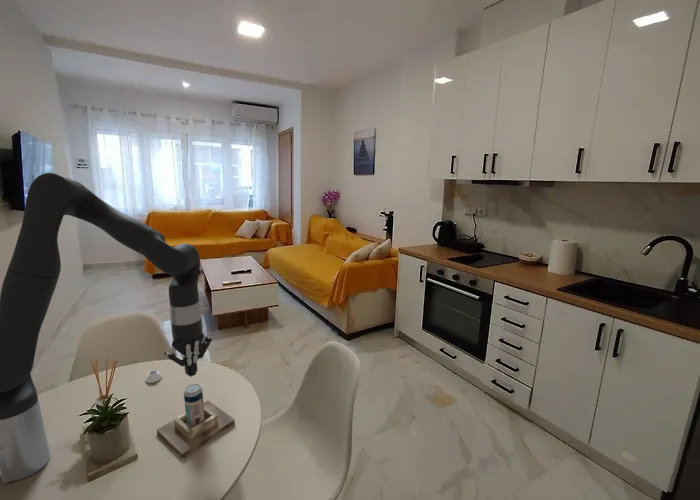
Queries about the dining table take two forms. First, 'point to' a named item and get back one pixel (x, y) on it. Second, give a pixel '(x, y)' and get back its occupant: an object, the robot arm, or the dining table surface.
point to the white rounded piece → (153, 376)
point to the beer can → (194, 405)
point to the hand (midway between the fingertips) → (191, 374)
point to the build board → (195, 430)
